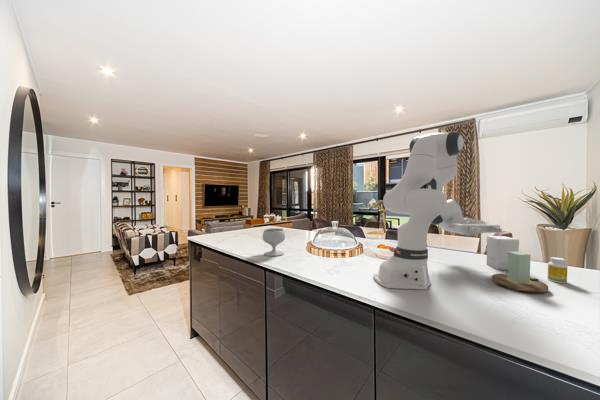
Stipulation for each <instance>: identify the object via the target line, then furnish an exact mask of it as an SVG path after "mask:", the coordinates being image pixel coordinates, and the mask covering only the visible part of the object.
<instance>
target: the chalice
mask: <svg viewBox="0 0 600 400" xmlns="http://www.w3.org/2000/svg"><path fill="white" fill-rule="evenodd" d="M261 238H262V241H263V242H265V243H266V244H268V245H270V246H271V248H272V250H269V251H265V252H264V255H265V256H267V257H278V256H282V255H284V254H285V253H284V251H282V250H276V247H277V246H278V245H279V244H281V243H283V242H284V241H285V239H286V233H285V231H284V229H283V228H276V227H275V228H267V229H264V230H263V232H262V237H261Z"/></svg>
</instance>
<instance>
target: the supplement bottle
mask: <svg viewBox="0 0 600 400" xmlns="http://www.w3.org/2000/svg"><path fill="white" fill-rule="evenodd" d="M547 280H548V281H551V282H554V283H558V284H559V283H560V284H567V282H568V264H566V259H565V258H562V257H557V256H556V257H555V256H551V257H550V261H548V263H547Z"/></svg>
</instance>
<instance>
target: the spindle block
mask: <svg viewBox="0 0 600 400" xmlns="http://www.w3.org/2000/svg"><path fill="white" fill-rule="evenodd" d="M507 274H508V277H507V279H510V280H512V281H515V282H518V283H530V278H531V254H530V253H527V252H522V251H519V252H508V270H507Z"/></svg>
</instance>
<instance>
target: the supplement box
mask: <svg viewBox="0 0 600 400" xmlns="http://www.w3.org/2000/svg"><path fill="white" fill-rule="evenodd" d="M519 245H520V239H517V238H514V237H509V236H506V235H504V236H503V235H487V236H486V265H488V266H490V267H491V268H494V269H495V270H500V271H501V270H504V271H508V252H520V251H519V249H520V246H519Z"/></svg>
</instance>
